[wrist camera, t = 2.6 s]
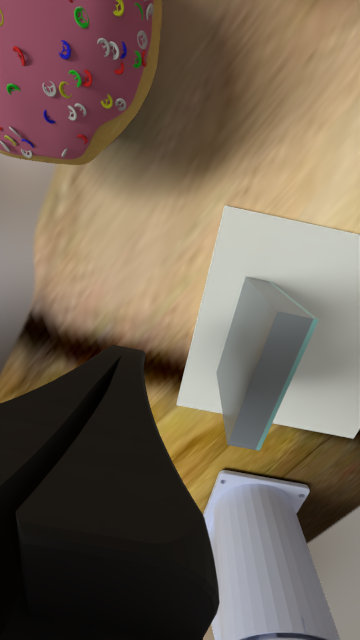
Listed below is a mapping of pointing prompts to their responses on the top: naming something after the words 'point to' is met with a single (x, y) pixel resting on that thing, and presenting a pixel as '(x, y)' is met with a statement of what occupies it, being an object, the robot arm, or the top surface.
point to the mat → (306, 289)
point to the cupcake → (73, 74)
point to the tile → (260, 360)
